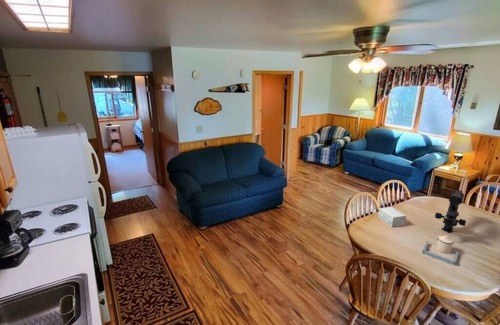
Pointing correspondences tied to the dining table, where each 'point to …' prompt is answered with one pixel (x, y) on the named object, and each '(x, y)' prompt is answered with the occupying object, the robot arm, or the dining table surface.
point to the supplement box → (391, 216)
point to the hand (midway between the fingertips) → (447, 229)
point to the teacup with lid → (444, 244)
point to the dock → (439, 256)
